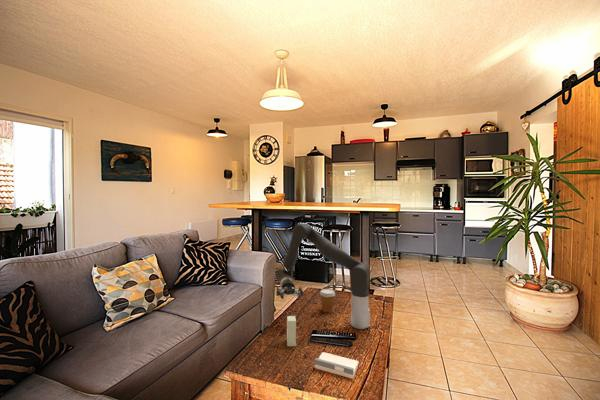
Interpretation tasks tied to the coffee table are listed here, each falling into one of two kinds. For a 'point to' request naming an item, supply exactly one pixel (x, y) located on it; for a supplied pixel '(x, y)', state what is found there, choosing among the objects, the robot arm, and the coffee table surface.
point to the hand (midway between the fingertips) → (291, 297)
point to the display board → (336, 364)
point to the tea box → (291, 331)
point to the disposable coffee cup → (327, 299)
